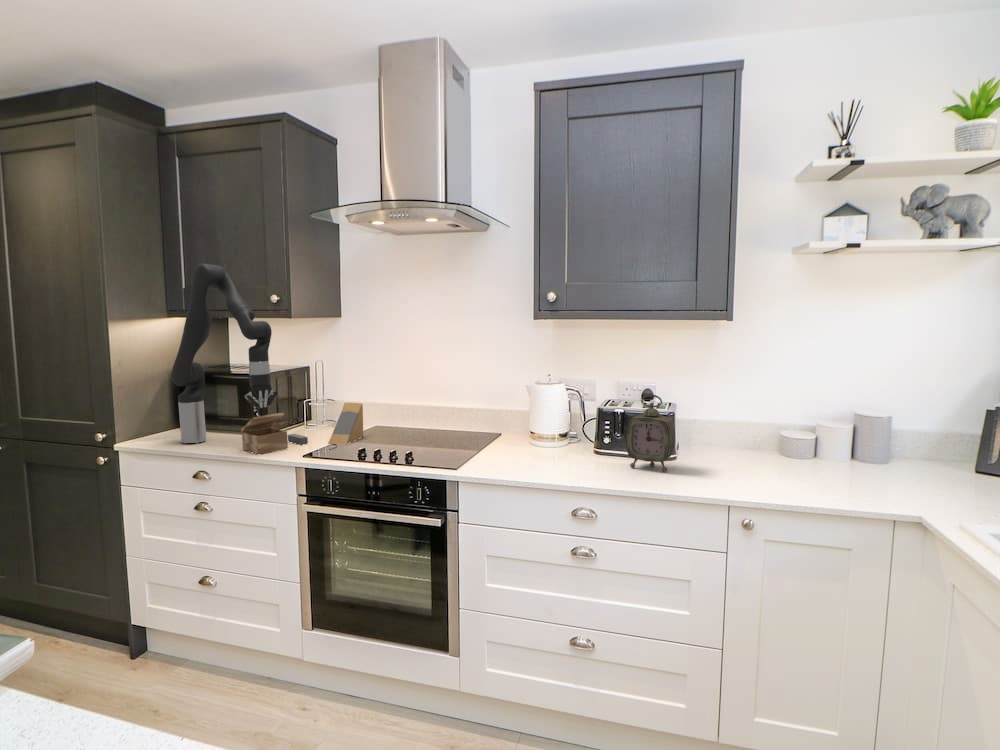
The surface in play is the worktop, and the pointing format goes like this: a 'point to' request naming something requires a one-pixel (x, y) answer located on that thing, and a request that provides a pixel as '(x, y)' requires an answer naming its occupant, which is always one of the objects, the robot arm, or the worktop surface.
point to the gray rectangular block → (297, 439)
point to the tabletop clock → (650, 436)
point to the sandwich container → (348, 424)
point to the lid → (262, 422)
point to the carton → (264, 440)
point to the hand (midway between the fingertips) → (262, 416)
